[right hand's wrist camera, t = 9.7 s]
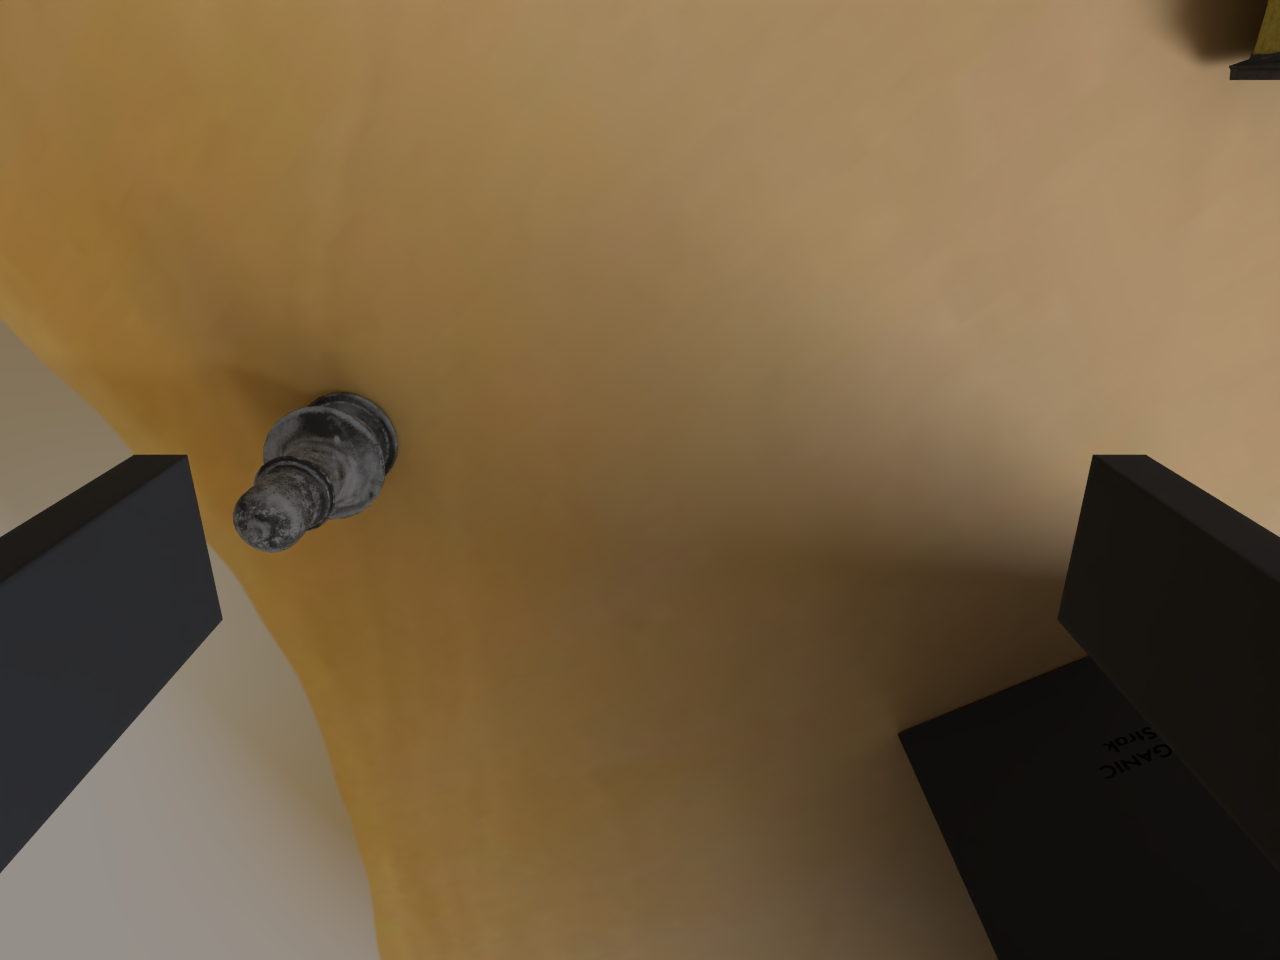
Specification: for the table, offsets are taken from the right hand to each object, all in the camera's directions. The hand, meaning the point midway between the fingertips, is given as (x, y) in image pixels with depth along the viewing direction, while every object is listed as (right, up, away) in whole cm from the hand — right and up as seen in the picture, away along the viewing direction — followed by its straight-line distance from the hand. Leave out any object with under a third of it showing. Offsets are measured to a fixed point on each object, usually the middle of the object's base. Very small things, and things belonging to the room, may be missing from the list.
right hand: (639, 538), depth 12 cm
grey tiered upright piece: (-15, +3, +32) cm, 36 cm away
